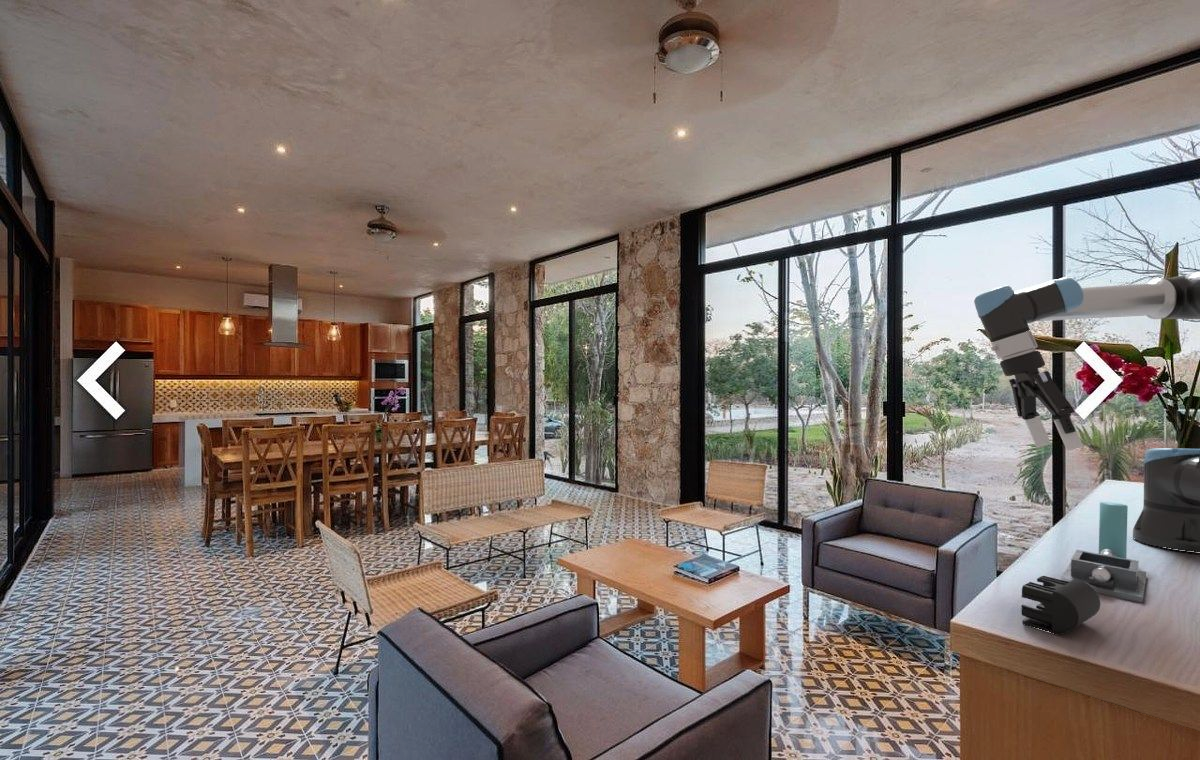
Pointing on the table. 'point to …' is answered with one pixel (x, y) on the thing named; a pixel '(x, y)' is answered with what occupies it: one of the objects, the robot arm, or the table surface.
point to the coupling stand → (1108, 574)
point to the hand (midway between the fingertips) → (1058, 447)
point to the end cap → (1059, 604)
